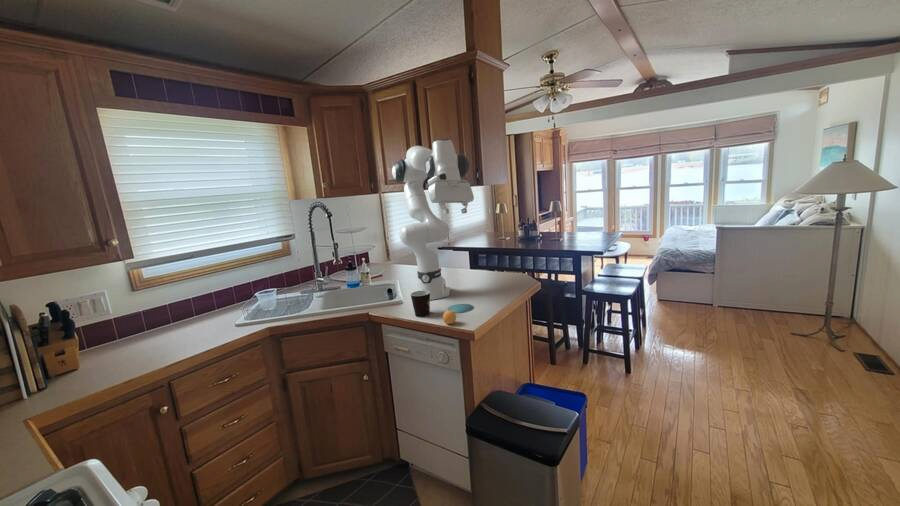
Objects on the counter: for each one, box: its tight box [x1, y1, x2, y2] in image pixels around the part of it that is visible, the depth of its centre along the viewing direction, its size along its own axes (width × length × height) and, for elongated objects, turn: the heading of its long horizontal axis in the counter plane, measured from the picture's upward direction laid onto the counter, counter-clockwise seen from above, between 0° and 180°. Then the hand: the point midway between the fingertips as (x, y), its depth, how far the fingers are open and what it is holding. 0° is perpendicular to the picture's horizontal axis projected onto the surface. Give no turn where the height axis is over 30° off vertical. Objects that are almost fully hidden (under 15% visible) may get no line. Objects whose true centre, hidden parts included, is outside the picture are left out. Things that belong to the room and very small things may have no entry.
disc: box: [446, 303, 474, 314], centre depth 167 cm, size 12×12×1 cm
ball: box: [442, 310, 457, 325], centre depth 149 cm, size 6×6×6 cm
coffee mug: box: [410, 290, 431, 318], centre depth 164 cm, size 12×9×10 cm
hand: (455, 213), depth 142 cm, fingers open, 8 cm apart
